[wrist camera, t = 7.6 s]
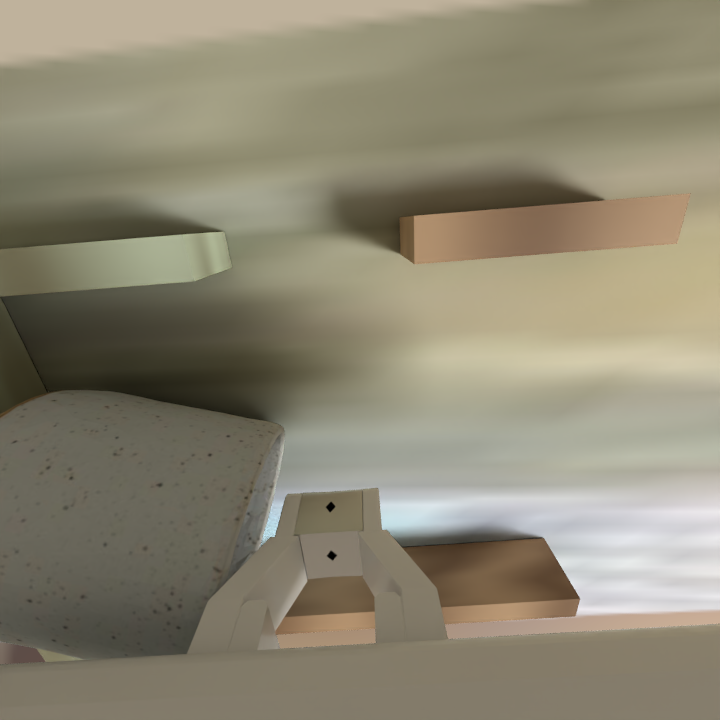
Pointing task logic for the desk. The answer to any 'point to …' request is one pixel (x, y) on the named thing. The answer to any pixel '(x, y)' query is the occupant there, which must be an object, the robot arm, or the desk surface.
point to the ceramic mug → (125, 519)
